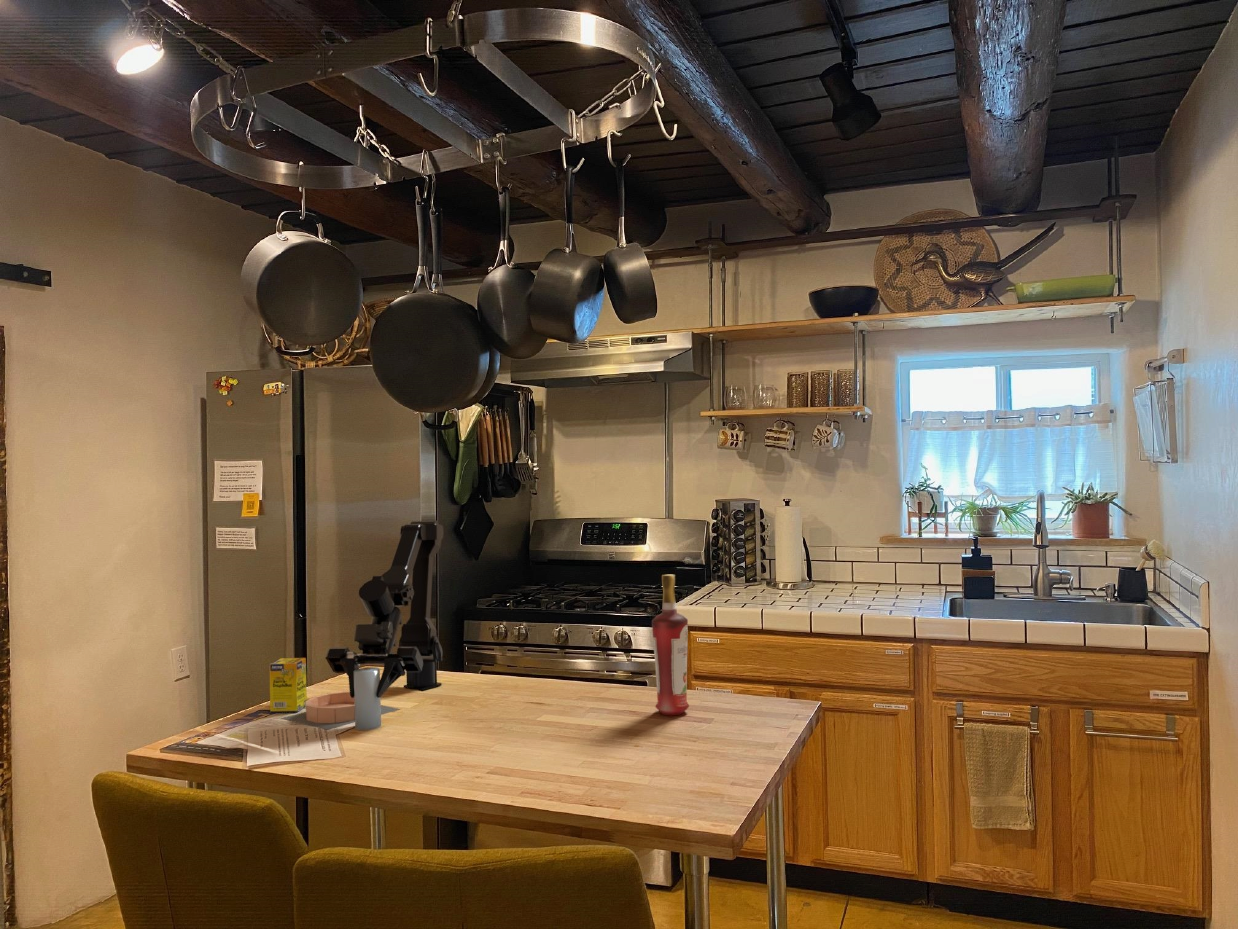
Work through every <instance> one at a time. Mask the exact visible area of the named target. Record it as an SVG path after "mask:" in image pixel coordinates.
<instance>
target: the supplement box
mask: <svg viewBox="0 0 1238 929" xmlns="http://www.w3.org/2000/svg"><path fill="white" fill-rule="evenodd" d="M268 668H269V670H268V671H269V706H270V707H269V709H270V710H269V711H270V714H271V715H272V714H299V712H301V710H303V709H306V708H305V701H307V700H308V698H307V697H308V692H307V690H308V689H307V658H306V657H293V658H291V657H286V658H285V657H284V658H282V657H281V658H279V659H278V660H276V661H274V662H271V663H269V666H268Z"/></svg>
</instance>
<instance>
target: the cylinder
mask: <svg viewBox="0 0 1238 929" xmlns="http://www.w3.org/2000/svg"><path fill="white" fill-rule="evenodd" d="M380 670H381V669H380V668H378V667H363V668H362V667H361V668H359V669H357V670H354V705H355V722H354V728H355V729H356V730H359V731H368V730H375V729H378V728H381V727H382V715H381V705H382V703H381V702H382V700H381V697H382V696H381V697H380V698H378V697H377V695H376V694H377V689H378V685H379V682H380V679H381V673H380Z"/></svg>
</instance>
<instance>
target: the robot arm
mask: <svg viewBox="0 0 1238 929" xmlns="http://www.w3.org/2000/svg"><path fill="white" fill-rule="evenodd" d="M443 539H444V526H443V525H442V524H440V523H439V521H438V520H412V521H411V522H410V523H405V524H404V525H401V527H400V537H399V541H398V544H397V547H396V548H395V553H394V556H393V559H392V560H391V564H390V567H389V569H388V570H387V571H385V572H384V573H383V574H382V575H373V576H372V578H371V580H368V581H366V582H365V583H364V584H363V585H362V586H360V588H359V591H358V596H359V598H360V601H361V602H362V604H363V606H364V609H365V610H366V612H367V614H368V615H369V616H370V617H371V622H370V623H369V624H368V623H365V624H364V623H360V624H355V631H354V639H353V640H354V642H357V643H358V644H357V645H358V646H357V648H358V650H359V651H362V652H361V653H356V652H354V651H350V650H351V649H349V647H347V646H345V647H335V646H334V647H331V648H329V649H328V650H327V652H326V655H325V660H326V662H327V663H328V665H329V667H330V669H331V671H332V672H333V673H335V674H346V676H347V677H348V687H349V691H350V696H351V698H354V670H357V669H360V668H359V667H360V666H361V665H365V666H366V665H369V666H370V665H373V666H374V665H383V671H382V673H381V675H380V682H379V685H378V689H377V694H376V695H377V697H378V698H380V697H382V696H383V695H384V694H385V692H387V690H388V689H389V688H390V687H391V686H392V685H393V684H394V683H395V682H396V681H397V680H398V679H399V678H400V677H404V676H406V677H405V678H406V684H404V685H403V688H405V689H410V690H415V691H420V692H421V691H426V690H429V689H433V688H437V687H440V686H442V684H443V683H442V682H438V673H437V672H438V671H437V669H438V668H437V667H438V664H437V663H438V662H442V661H443V654H444V653H443V648H442V645H441V643H440V640H439V638H438V635H437V629H436V627H435V625H434V623H433V621H432V618H431V612H432V611H431V608H432V588H433V569H434V568H433V567H434V566H433V564H434V558H435V556H436V555H437V553H439V550H440V549H441V547H442V545H441V544H442V540H443ZM411 577H412V578H411ZM409 605H410V609H409V611H410V612H409V618H408V619H407V621H406V623H403V618H402V611H401V610H400V607H403V608H404V607H408V606H409ZM400 625H402V626H401V630H400V631H401V632H400V633H401V634H400V638H399V639H398V640H399V641H398V642H397V640H396V637H397V635H398V634H397V633H398V630H399V627H400ZM397 643H398V647H397V649H396V650H397V651H396V653H393V648H394V647H396V646H397Z"/></svg>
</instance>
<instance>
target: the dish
mask: <svg viewBox="0 0 1238 929" xmlns="http://www.w3.org/2000/svg"><path fill="white" fill-rule="evenodd" d="M304 709H305V712H306V719H307V720H308V721H312V722H316V723H339V722H347V721H354V720H355V705H354V698H351V696H350V690H345V691H338V692H337V691H336V692H329V693H325V694H320V695H317V696H316V695H315V696H313V697H311V698H309V699H307V701H305V708H304Z"/></svg>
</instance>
